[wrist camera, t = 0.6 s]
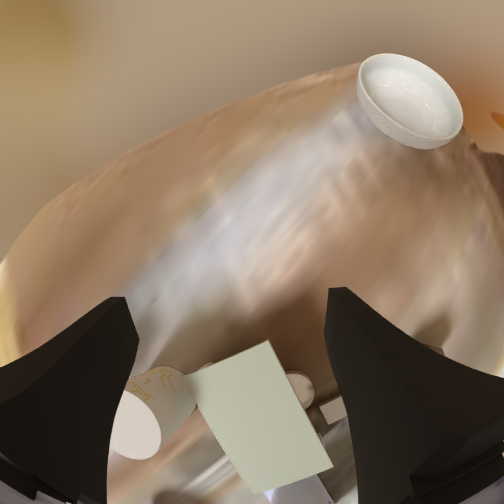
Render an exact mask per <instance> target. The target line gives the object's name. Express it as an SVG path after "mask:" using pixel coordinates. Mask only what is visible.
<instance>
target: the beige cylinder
mask: <svg viewBox="0 0 504 504" xmlns="http://www.w3.org/2000/svg"><path fill="white" fill-rule="evenodd" d="M184 376H185V375H184V374H183V373H182V372H180V371H179V370H177V369H174V368H171V367H166V366H160V367H156V368H153V369H151V370H149V371H147V372H145V373H142V374H140V375H138V376H136V377H133V378H131V379H129V380H128V381H127V384H126V386H125V389H124V392H123V395H122V397H121V400H120V403H119V406H118V409H117V412H116V415H115V419H114V424H113V429H112V434H111V440H110V447H111V448H112V449H113V450H114V451H116V452H117V453H119V454H121V455H123V456H125V457H128V458H132V459H146V458H149V457H151V456H153V455H154V454H155V453H156V452H157V451H158V450H159V449H160V448H161V447H162V446H163V445H164V443H165V442H166V441H167V440H168V439H169V438H170V437H171V436H172V435H173V434H174V433H175V432H176V430H177V429H178V428H179V427H180V426H181V425H182V424H183V423H184V422H185V420H186V419H187V418H188V417H189V416H190V415H191V414H192V412H193V411H194V409H195V406H196V402H195V400H194V398H193V396H192V394H191V392H190V390H189V389H188V387H187V385H186V383H185V381H184V379H183V377H184Z"/></svg>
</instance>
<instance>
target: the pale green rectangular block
mask: <svg viewBox="0 0 504 504" xmlns="http://www.w3.org/2000/svg"><path fill="white" fill-rule="evenodd" d="M183 379H184V381H185V383H186V385H187V387H188V389H189V390H190V392H191V394H192V396H193V398H194V400H195V402H196V404H197V405H198V407H199V409H200V411H201V413H202V414H203V416H204V418H205V420H206V421H207V423H208V425H209V427H210V428H211V430H212V432H213V433H214V435H215V437H216V438H217V440H218V442H219V443H220V445H221V447H222V448H223V450H224V451H225V453H226V455H227V456H228V458H229V459H230V461H231V462H232V464H233V465H234V467H235V468H236V470H237V471H238V473H239V474H240V476H241V477H242V479H243V480H244V482H245V483H246V485H247V486H248V487H249V489H250V490H251V492H252V493H253V494H257V493H261V492H265V491H268V490H272V489H275V488H278V487H281V486H284V485H287V484H290V483H293V482H296V481H299V480H302V479H305V478H307V477H310V476H313V475H315V474H318V473H320V472H323V471H325V470H327V469H330V468H332V467H334V466H333V463H332V461H331V460H330V458H329V456H328V454H327V452H326V449H325V445H324V442H323V438H322V436H321V434H320V433H317V432H316V430H315V429H314V427H313V425H312V423H311V421H310V419H309V417H308V415H307V413H306V411H305V410H304V408H303V406H302V404H301V402H300V400H299V398H298V396H297V394H296V392H295V390H294V388H293V386H292V384H291V382H290V380H289V379H288V377H287V375H286V373H285V371H284V369H283V367H282V365H281V363H280V361H279V359H278V357H277V355H276V353H275V351H274V349H273V347H272V345H271V343H270V341H269V339H268V340H266V341H264V342H262V343H260V344H257V345H255V346H253V347H251V348H249V349H246V350H244V351H242V352H240V353H237V354H235V355H233V356H231V357H228V358H226V359H224V360H221V361H219V362H217V363H214V364H213V362H210V363H207V364H205V365H204V366H203V367H201V368H200V369H199V370H197V371H195V372H193V373H190V374H188V375H185V376H184V377H183Z"/></svg>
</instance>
